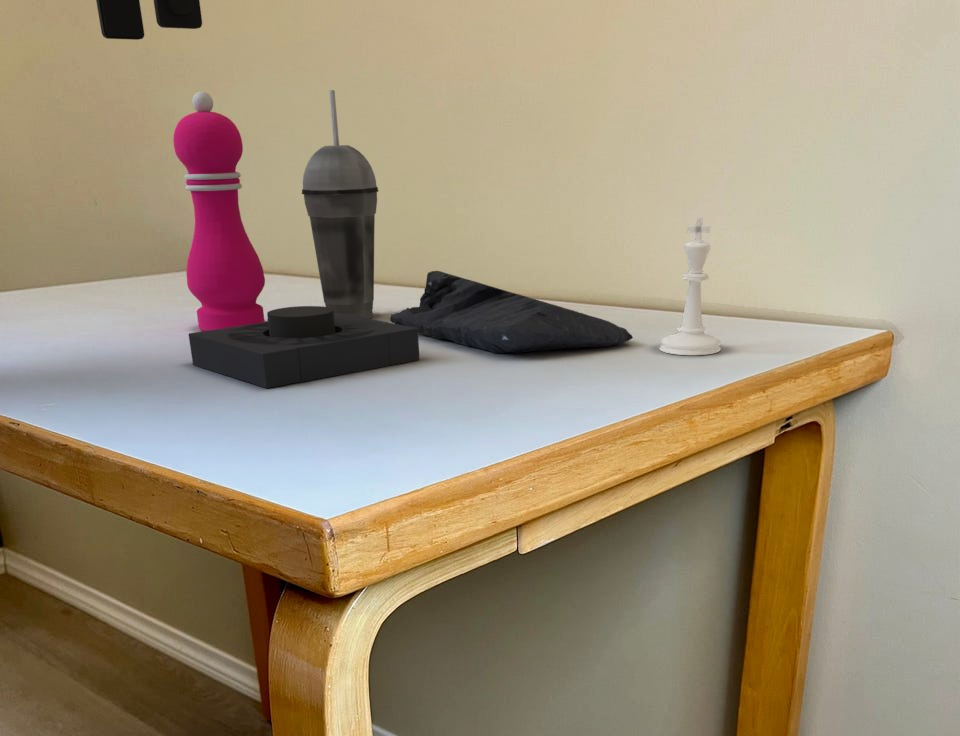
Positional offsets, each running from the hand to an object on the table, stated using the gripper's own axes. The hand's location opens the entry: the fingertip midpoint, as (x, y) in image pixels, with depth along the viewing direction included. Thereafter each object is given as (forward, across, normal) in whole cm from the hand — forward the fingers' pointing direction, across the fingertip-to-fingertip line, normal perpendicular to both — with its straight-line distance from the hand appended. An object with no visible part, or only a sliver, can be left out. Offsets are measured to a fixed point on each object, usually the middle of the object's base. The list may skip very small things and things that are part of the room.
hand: (150, 33), depth 74 cm
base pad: (+23, +9, +5) cm, 25 cm away
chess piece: (+24, +28, +30) cm, 47 cm away
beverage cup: (+24, -7, +20) cm, 32 cm away
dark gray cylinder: (+23, +9, +5) cm, 25 cm away
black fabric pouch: (+24, +12, +24) cm, 36 cm away
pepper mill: (+24, -11, +9) cm, 27 cm away
